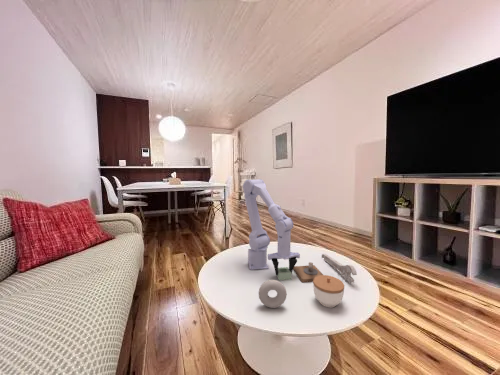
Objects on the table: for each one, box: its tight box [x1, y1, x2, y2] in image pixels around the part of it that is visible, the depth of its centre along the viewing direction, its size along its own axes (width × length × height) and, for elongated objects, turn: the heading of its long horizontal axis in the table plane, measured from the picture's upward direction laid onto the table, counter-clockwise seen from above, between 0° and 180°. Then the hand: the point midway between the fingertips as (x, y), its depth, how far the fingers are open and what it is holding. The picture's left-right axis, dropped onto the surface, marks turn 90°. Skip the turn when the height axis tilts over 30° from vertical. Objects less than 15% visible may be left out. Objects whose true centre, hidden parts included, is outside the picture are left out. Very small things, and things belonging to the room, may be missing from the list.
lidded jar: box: [312, 274, 345, 308], centre depth 78 cm, size 11×11×9 cm
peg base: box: [293, 261, 324, 283], centre depth 98 cm, size 11×12×6 cm
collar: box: [276, 266, 292, 281], centre depth 96 cm, size 6×6×3 cm
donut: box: [258, 279, 288, 309], centre depth 75 cm, size 10×4×10 cm, turn 88°
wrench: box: [321, 253, 357, 283], centre depth 102 cm, size 8×2×30 cm
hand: (283, 273), depth 96 cm, fingers open, 6 cm apart
